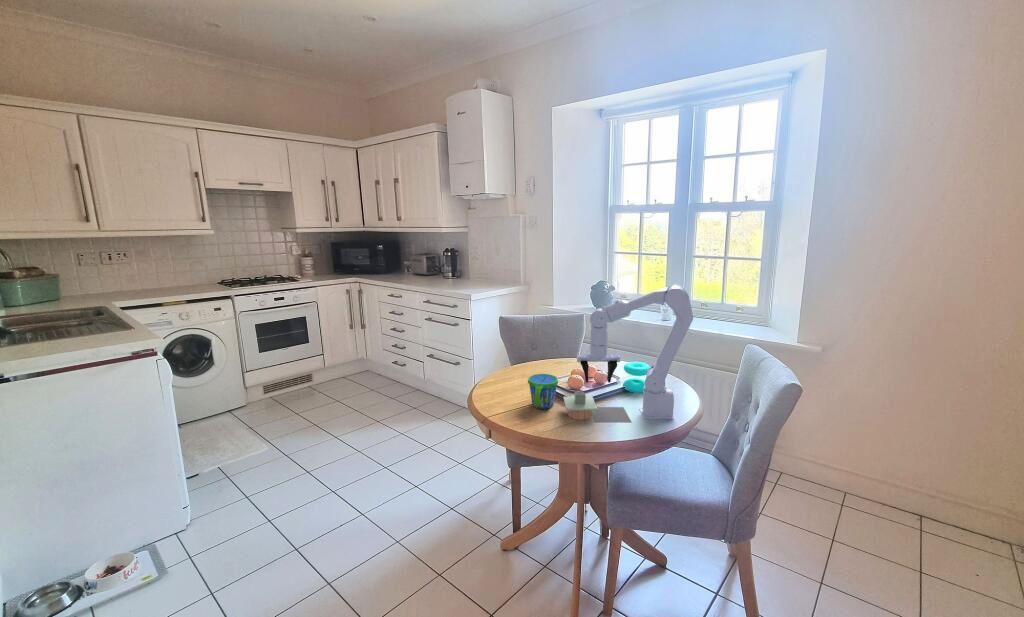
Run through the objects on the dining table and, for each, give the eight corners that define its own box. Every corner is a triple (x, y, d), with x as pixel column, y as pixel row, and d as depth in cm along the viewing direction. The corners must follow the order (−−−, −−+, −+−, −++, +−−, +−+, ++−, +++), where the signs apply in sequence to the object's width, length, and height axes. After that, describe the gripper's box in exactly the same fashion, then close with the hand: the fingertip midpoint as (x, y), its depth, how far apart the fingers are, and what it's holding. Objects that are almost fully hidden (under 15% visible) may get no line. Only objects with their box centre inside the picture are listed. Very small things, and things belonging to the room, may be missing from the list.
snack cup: (549, 417, 145) (549, 388, 143) (520, 411, 149) (520, 383, 147) (563, 400, 159) (564, 373, 157) (537, 395, 163) (537, 369, 161)
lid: (592, 398, 150) (592, 387, 149) (597, 410, 140) (597, 399, 140) (563, 398, 150) (563, 387, 150) (566, 410, 141) (566, 399, 140)
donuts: (621, 360, 172) (646, 360, 172) (620, 384, 174) (645, 384, 174) (627, 368, 162) (654, 368, 162) (626, 394, 164) (652, 394, 164)
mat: (623, 408, 151) (623, 407, 151) (631, 423, 140) (631, 422, 140) (588, 408, 152) (588, 406, 152) (594, 423, 140) (594, 422, 140)
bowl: (589, 410, 150) (590, 399, 149) (593, 420, 142) (593, 409, 141) (566, 410, 150) (566, 399, 149) (568, 420, 142) (569, 409, 141)
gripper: (579, 347, 145) (578, 385, 147) (622, 346, 144) (621, 385, 147) (576, 341, 152) (575, 378, 154) (618, 341, 151) (616, 378, 154)
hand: (597, 381), depth 151 cm, fingers open, 7 cm apart
